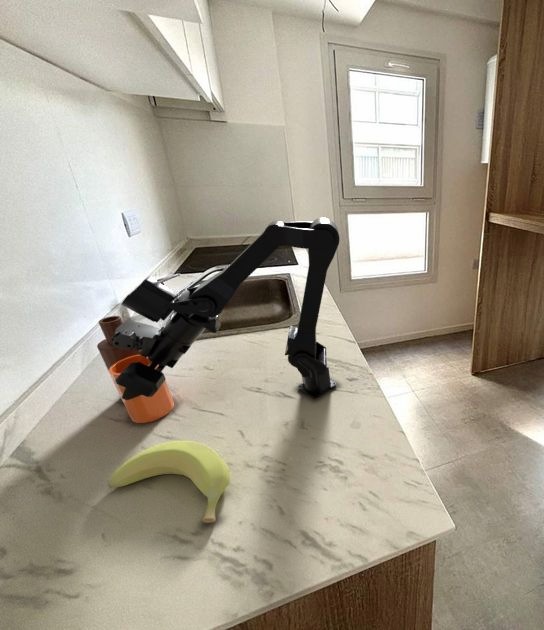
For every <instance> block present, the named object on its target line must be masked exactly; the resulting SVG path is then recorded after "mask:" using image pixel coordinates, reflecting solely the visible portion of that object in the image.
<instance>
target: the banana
mask: <svg viewBox="0 0 544 630" xmlns="http://www.w3.org/2000/svg"><path fill="white" fill-rule="evenodd" d="M169 474H172V475H173V474H174V475H179V476H180V475H181V476H185V477H187V478H189V479H190V480H191V481H192V483H193V484H194V485H195V486H196V487H197V488H198V490H200V492H201V493H202V494H203V496H204V497H206V498H207V507H206V510H205V513H204V516H203V517H202V520H201V521H202V522H203V523H204V524H205V523H206V524H213V523H215V522H216V520H217V518H216V507H217V504H218V501H219V499H220V497H221V496H222V494H223V493H224V492H225V490H226V489H227V488H228V486H229V484H230V481H231V471H230V468H229V466H228V465H227V463H226V461H225V460H224V459H223V458H222V457H221V456H220V455H219V454H218V453H217V452H216V451H215V450H213V448H211V447H209V446H207V445H206V444H204V443H201V442H198V441H193V440H192V441H191V440H171V441H167V442H162V443H159V444H156V445H153V446H151V447H148V448H146V449H144V450H142V451H140V452H138V453H137V454H136V455H134V456H132V457H131V458H129V459H128V460H126V461H125V462H124V463H123V464H122V465H120V466H119V467H118V468H117V469H116V470H115V471H114V472H113V473H112V474H111V475H110V477H109V478H108V479H107V485H108V487H109V488H111V489H114V488H119V487H125V486H127V485H130V484H133V483H136V482H139V481H142V480H144V479H147V478H151V477H155V476H160V475H169Z"/></svg>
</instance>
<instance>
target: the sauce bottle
mask: <svg viewBox="0 0 544 630" xmlns="http://www.w3.org/2000/svg"><path fill="white" fill-rule="evenodd" d="M122 323H124V321H123V319H122V317H121V316H120V315H112V316H107V317H103V318H101V319H100V320H98V324H99V327H100V329H101V331H102V334H103V336H104V338H105V339H103V340H101V341H99V342H98V344H97V345H96V348H97V350H98V352H99V354H100V356H101V358H102V360H103V363H104V365H105V367H106V370H107V371H108V372H109V368H110V367H111V366H112V365H113V364H115V363H116V362H118V361H120V360H122V359H125V358H127V357H131V356H134V355H139V353H140V352H141V350H142V349H141V350H137V349H132V350H124V349H120V348H116V347H114V346H113V342H112V341H111V340H110V338H111V337H113V335H114V333H115V330H116V328H118V327H119V326H120V325H121V324H122Z"/></svg>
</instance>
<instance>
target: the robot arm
mask: <svg viewBox="0 0 544 630" xmlns="http://www.w3.org/2000/svg"><path fill="white" fill-rule="evenodd" d="M339 244H340V232H339V229H338V226H337V225H336V223H335V222H334V221H333V220H331V219H329V218H326V217H319V218H316V219H314V220H313V221H303V220H302V221H279V220H275V221H272V222H270V223H269V224H268V225H267V226H266V227H265V228H264V230H263V232H262V233H260V234H259V235H258V237H257V238H255V240H253V241H252V242H251V243H250V244H249V245H248V246H247V247H246V248H245V249H244V250H243V251H242V253H240V254H239V255H238V256H237V257H236V258H235V259H234V260H233V261H232V262H231V263H230V264H229V265H228V266H227V267H225V268H224V269H223V270H221V271H219V272H217V273H216V274H213V275H212V276H210V277H209V278H208V279H206V280H204V281H203V282H202V283H200V285H198V286H194V287H189V288H183V289H182V290H181V291H180V292H179V293H178V292H177V291H174V290H172V289H170V288H169V287H167V286H165V285H164V284H162V283H160V281H159V280H157V279H156V278H154V277H152V276H147V277H146V278H145V279H143V281H142V282H141V283H140V284H139V285H138V286H137V287H136V288H135V289H134V290H132V291H131V292H130V293H129V294H127V296H125V298H124V299H123V300H122V302H121V303H120V304H121V306H123V307H125V308H127V309H129V310H130V311H132V312H134V313H136V314H138V315H139V316H141V317H143V318H145V319H147V320H149V321H151V322H153V323H159V321H160V320H161V321H163V322H164V321H165V320H166V319H167V318H168V317H169V316H170V315H171V314H172V312H175V313H174V315H173V316H172V317H171V319H170V320H169V321H168V322H167V323H166V324H163V325H162V326H161V328H159V327H155V326H154V325H151V324H147V323H143V322H139V321H134V320H125V321H123V323H122V324H121V325H120V326H119V327H118V328H116V330H115V333H114V335H113V337H111V338H110V340H111V341H112V342H113V346H114V347H116V348H120V349H124V350H132V349H137V350H141V349H142V350H141V352H140V353H139V354H140V355H142V356H144V357H147V356H148V357H147V359H149V360H150V361H152V363H151V364H150V365H149V366H147V365H145V364H142V363H140V362H134V363H130V364H129V365H128V366H127V367H126V368H125V370H124V371H123V372H122V373H121V374H120V375H119V376H118V377H117V379H116V380H115V381H116V383H117V384H118V385H121V386H123V387H125V390H124V392H123V395H122V399H125V400H130V399H132V398H135V397H138V396H140V395H144V396H146V397H152V396H153V395H154V394H155V393H156V392H157V391H158V389H159V388H160V387H161V385H162V384H163V382H164V381H165V380H166V379H167V378H166V375H165V374H164V372H163V371H164V369H165V368H166V367H169V368H170V369H173V368H175V366H176V364H177V363H178V361H179V360H180V359H181V358H182V357H183V355H185V354H187V352H188V351H189V350H190V348H191V347H192V345H193V344H194V343H195V342H196V341H197V339H198V338H199V337H200V336H201V335H202V334H203V332H204V331H205V330H207V331H209V332H211V333H212V334H216V333H218V331H219V329H220V328H221V325H222V323H221V320H220V319H219V318H220V316H219V315H220V314H221V313H222V312H223V311H224V309H225V308H226V306H227V305H228V304H229V301H230V300H231V299H232V297H233V296H234V294H235V293H236V292H237V290H238V288H239V287H240V286H241V284H243V283H244V282H245V281H246V280H247V279H248V278H249V277H250V276H251V275H252V274H253V273H254V272H255V271H256V270H257V269H258V268H259V267H260V266H261V265H262V264H263V263H264V262H265V261H266V260H267V259H268V258H269V257H270V256H272V254H273V253H274V252H275V251H277V249H279V248H280V247H291V248H296V249H302V250H303V249H304V250H305V249H306V250H307V251H308V252H307V254H308V257H307V258H308V268H307V273H306V280H305V284H304V291H303V297H302V303H301V309H300V314H299V320H298V323H297V324H296V326H292V325H290V326H289V329H288V334H287V340H286V346H285V351H284V356H287V361H288V363H289V364H290V365H291V366H292V367H294V368H296V369H297V371H298V372H299V373H300V375H301V379H302V383H300V384H299V385H297V389H298V390H299V391H301V392H302V393H304V394H305V395H308V396H309V397H310V398H312V399H314V400H315V399H318V398H320V397H321V396H322V395H324V394H325V393H328V391H330V390H332V389H333V388H335V387H336V386H337V382H335V381H333V380H332V379H331V376H330V375H331V374H330V367H329V365H328V362H327V361H328V358H327V347H326V346H325V345H323V344H321V343H320V342H318V341H317V326H318V320H319V314H320V310H321V304H322V299H323V295H324V294H323V293H324V289H325V283H326V278H327V274H328V270H329V267H330V265H331V264H332V261H333V260H334V259H335V258H334V257H335V255H336V253H337V250H338V247H339ZM157 365H159V366H158V367H157V368H156V366H157ZM155 368H156V370H155ZM161 372H162V373H161ZM122 399H121V400H122Z"/></svg>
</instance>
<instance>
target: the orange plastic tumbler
mask: <svg viewBox="0 0 544 630" xmlns="http://www.w3.org/2000/svg"><path fill="white" fill-rule="evenodd" d="M147 357H148V356H147ZM147 357H144V356H142V355H140V354H139V355H134V356H131V357H127V358H125V359H122V360H120V361H118V362H116V363H115V364H113V365H112V366H111V367H110V368H109V371H108V373H109V376H110V377H111V380H112V382H113V384H114V386H115V389H116V390H117V393H118V395H119V397H120V399H121V401H122V403H123V405H124V408H125V409H126V412H127V414H128V416H129V417H130V419H131V421H132V422H133V423H136V424H147V423H150V422H154V421H157V420H159V419H161V418H163V417H165V416H166V415H167V414H169V413H171V411H172V410H174V407H175V401H174V398H173V396H172V394H171V391H170V388H169V386H168V383H167V381H166V380H165V381H164V382H163V384H162V385H161V387H160V388H159V389H158V391H157V392H156V393H155V394H154V395H153V396H152V397H146V396H144V395H140V396H138V397H135V398H132V399H130V400H125V399H122V395H123V392H124V390H125V387H123V386H121V385H118V384H117V383H116V381H115V380H116V379H117V377H118V376H119V375H120V374H121V373H122V372H123V371H124V370H125V368H126V367H127V366H128V365H129V364H130V363H134V362H140V363H142V364H145V365H147V366H149V365H150V364H151V363H152V361H150V360H149V359H147ZM158 366H159V365H157V366H156V368H157V367H158ZM156 368H155V370H156ZM161 373H163V371H162V372H161Z"/></svg>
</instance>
